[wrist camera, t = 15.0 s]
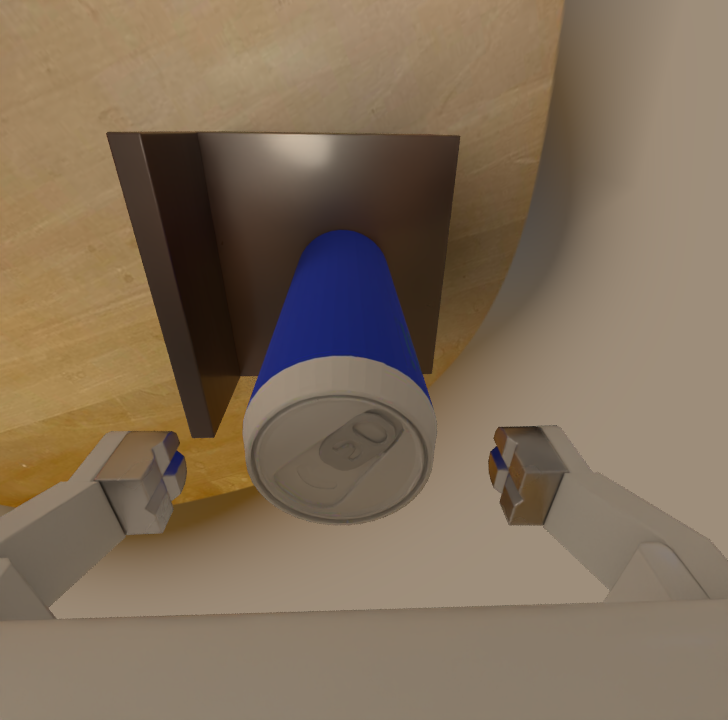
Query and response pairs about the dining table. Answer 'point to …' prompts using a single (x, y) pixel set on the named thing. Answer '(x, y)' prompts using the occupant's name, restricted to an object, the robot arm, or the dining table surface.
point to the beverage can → (340, 393)
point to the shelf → (274, 236)
